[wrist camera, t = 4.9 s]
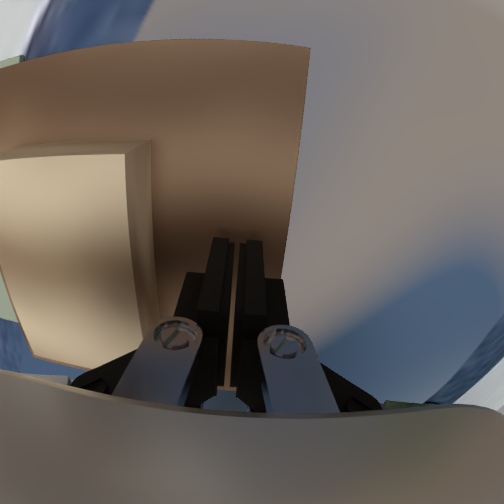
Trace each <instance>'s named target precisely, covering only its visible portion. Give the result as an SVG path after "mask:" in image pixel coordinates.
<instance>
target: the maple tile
mask: <svg viewBox="0 0 504 504" xmlns="http://www.w3.org/2000/svg"><path fill="white" fill-rule="evenodd" d="M0 265H1V268H2V272H3V275H4V278H5V281H6V284H7V287H8V290H9V293H10V296H11V299H12V302H13V304H14V307H15V310H16V312H17V315H18V318H19V320H20V323H21V325H22V328H23V330H24V332H25V335H26V337H27V339H28V342H29V344H30V346H31V348H32V351H33V353H34V355H37V356H40V357H44V358H48V359H52V360H56V361H60V362H64V363H68V364H72V365H77V366H81V367H86V368H90V369H94V368H97V367H99V366H101V365H103V364H105V363H108V362H110V361H112V360H114V359H116V358H118V357H121V356H123V355H125V354H127V353H129V352H131V351H134V350H136V349H138V347H139V345H140V344H141V342H142V340H143V339H144V337H145V335H146V333H147V332H148V330H149V328H150V327H151V326H152V325H153V324H154V323H155V322H157V321H159V320H160V314H159V304H158V294H157V283H156V271H155V257H154V242H153V223H152V196H151V139H119V140H89V141H70V142H56V143H44V144H33V145H23V146H17V147H15V148H12V149H10V150H7V151H5V152H3V153H0Z"/></svg>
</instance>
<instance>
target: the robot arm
mask: <svg viewBox="0 0 504 504" xmlns="http://www.w3.org/2000/svg"><path fill="white" fill-rule="evenodd" d="M234 249H235V243H232V242H229V238H221V237H213V240H212V244H211V249H210V253H209V257H208V262H207V266H206V270H205V273H198V272H187V273H186V276H185V279H184V282H183V286H182V289H181V292H180V295H179V299H178V302H177V305H176V309H175V312H174V315H173V317H167V318H164V319H160V320H159V321H157V322H155V323H154V324H153V325H152V326H151V327H150V328H149V330H148V332H147V333H146V335H145V337H144V339H143V340H142V342H141V344H140V345H139V347H138V349H136V350H134V351H131V352H129V353H127V354H125V355H123V356H121V357H118V358H116V359H114V360H112V361H110V362H108V363H105V364H103V365H101V366H99V367H97V368H94V369H92V370H90V371H88V372H86V373H83V374H82V375H80V376H78V377H77V378H76V379H75V380H70V378H69V376H51V375H33V374H21V373H16V372H12V371H6V370H1V369H0V504H504V415H503V414H502V413H500V412H498V411H495V410H493V409H490V408H486V407H481V406H476V405H465V404H439V405H436V404H418V403H407V402H396V401H388V400H386V401H385V402H384V404H381V403H379V402H378V401H377V400H376V399H375V398H374V397H373V396H371V395H370V394H368V393H367V392H365V391H364V390H362V389H360V388H359V387H357V386H356V385H354V384H352V383H351V382H349V381H348V380H346V379H345V378H343V377H342V376H340V375H338V374H337V373H335V372H334V371H332V370H331V369H329V368H328V367H326V366H325V365H323V364H322V363H320V361H319V359H318V356H317V354H316V352H315V349H314V346H313V344H312V342H311V340H310V338H309V337H308V335H307V334H305V333H304V332H303V331H302V330H299V329H298V328H296V327H292V326H290V325H289V318H288V310H287V303H286V296H285V289H284V283H283V280H282V279H274V278H265V275H264V259H263V243H262V241H259V240H246V244H244V243H240V249H239V261H238V273H237V286H236V298H235V312H234V326H233V342H232V357H231V374H230V387H236V397H238V398H239V399H240V400H242V401H243V402H244V403H245V404H246V405H248V406H247V412H236V411H222V410H210V409H203V408H204V402H205V401H206V400H208V399H210V398H211V397H213V396H216V395H217V386H223V387H224V381H225V368H226V355H227V342H228V330H229V318H230V305H231V291H232V276H233V263H234Z"/></svg>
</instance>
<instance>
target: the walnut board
mask: <svg viewBox="0 0 504 504" xmlns="http://www.w3.org/2000/svg"><path fill="white" fill-rule="evenodd" d="M309 57H310V48H308V47H301V46H293V45H287V44H277V43H269V42H258V41H244V40H224V39H223V40H222V39H172V40H151V41H138V42H127V43H118V44H110V45H102V46H95V47H89V48H83V49H77V50H72V51H67V52H62V53H57V54H52V55H48V56H43V57H39V58H35V59H31V60H27V61H24V62H20V63H17V64H13V65H10V66H6V67H3V68H0V153H3V152H5V151H7V150H10V149H12V148H15V147H17V146H23V145H33V144H44V143H56V142H70V141H89V140H119V139H151V196H152V223H153V242H154V257H155V271H156V283H157V294H158V304H159V314H160V319H164V318H167V317H173V315H174V312H175V309H176V305H177V302H178V299H179V295H180V292H181V289H182V286H183V282H184V279H185V276H186V273H187V272H198V273H205V270H206V266H207V262H208V257H209V253H210V249H211V244H212V240H213V237H221V238H229V242H232V243H235V249H234V263H233V276H232V291H231V305H230V318H229V330H228V342H227V355H226V368H225V381H224V387H223V386H217V389H219V390H231V391H236V387H230V374H231V357H232V342H233V326H234V312H235V298H236V286H237V273H238V261H239V249H240V243H244V244H246V240H259V241H262V243H263V259H264V275H265V278H274V279H281V273H282V267H283V261H284V253H285V247H286V240H287V234H288V227H289V220H290V213H291V206H292V198H293V190H294V184H295V176H296V169H297V161H298V153H299V145H300V137H301V129H302V120H303V112H304V104H305V94H306V85H307V76H308V67H309ZM0 272H1V276H2V279H3V282H4V285H5V288H6V291H7V294H8V296H9V299H10V302H11V305H12V307H13V310H14V313H15V315H16V318H17V320H18V323H19V325H20V328H21V330H22V332H23V335H24V337H25V339H26V342H27V344H28V346H29V348H30V350H31V353H32V355H33V357H36V358H39V359H43V360H47V361H51V362H54V363H58V364H62V365H66V366H71V367H75V368H79V369H84V370H88V371H90V370H92V369H90V368H86V367H81V366H77V365H72V364H68V363H64V362H60V361H56V360H52V359H48V358H44V357H40V356H37V355H34V353H33V351H32V348H31V346H30V344H29V342H28V339H27V337H26V335H25V332H24V330H23V328H22V325H21V323H20V320H19V318H18V315H17V312H16V310H15V307H14V304H13V302H12V299H11V296H10V293H9V290H8V287H7V284H6V281H5V278H4V275H3V272H2V268H1V265H0Z"/></svg>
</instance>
